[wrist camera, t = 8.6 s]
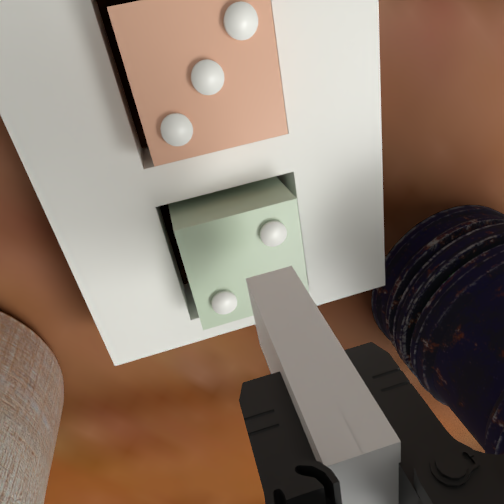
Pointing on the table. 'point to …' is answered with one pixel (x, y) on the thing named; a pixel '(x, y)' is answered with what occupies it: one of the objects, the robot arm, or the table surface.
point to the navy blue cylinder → (451, 314)
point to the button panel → (192, 162)
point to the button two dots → (236, 244)
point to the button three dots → (201, 73)
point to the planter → (27, 412)
